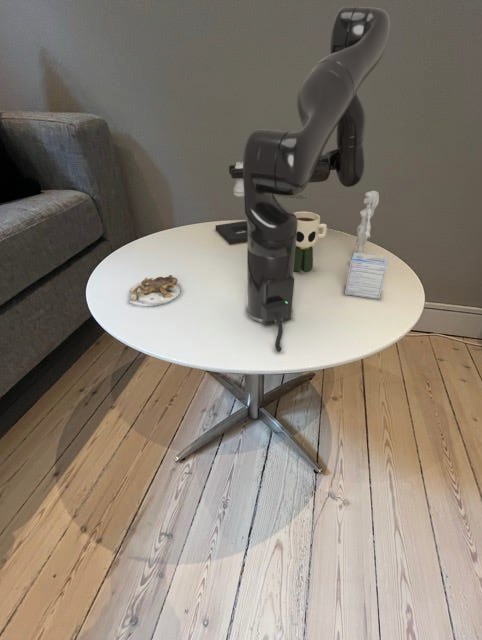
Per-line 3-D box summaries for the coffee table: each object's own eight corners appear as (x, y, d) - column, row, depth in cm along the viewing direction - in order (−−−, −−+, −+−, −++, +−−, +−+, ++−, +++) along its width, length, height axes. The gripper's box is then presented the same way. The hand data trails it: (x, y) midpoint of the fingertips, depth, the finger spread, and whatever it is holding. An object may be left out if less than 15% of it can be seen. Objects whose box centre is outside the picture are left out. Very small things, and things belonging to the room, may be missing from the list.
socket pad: (268, 238, 114) (268, 233, 113) (230, 244, 110) (230, 239, 109) (251, 224, 122) (251, 219, 121) (215, 230, 118) (215, 225, 117)
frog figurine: (180, 279, 94) (178, 264, 91) (181, 304, 85) (179, 288, 82) (132, 282, 92) (128, 267, 90) (127, 308, 84) (123, 292, 81)
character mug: (280, 275, 97) (284, 221, 88) (277, 262, 102) (280, 211, 93) (323, 274, 97) (331, 221, 88) (318, 262, 102) (325, 211, 94)
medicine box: (379, 291, 91) (388, 255, 85) (379, 300, 88) (388, 264, 82) (346, 286, 93) (352, 251, 87) (344, 295, 89) (351, 259, 84)
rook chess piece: (242, 198, 106) (242, 166, 101) (230, 195, 108) (229, 163, 103) (252, 194, 109) (252, 162, 104) (239, 191, 111) (239, 160, 106)
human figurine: (348, 254, 106) (362, 183, 94) (362, 255, 106) (377, 184, 94) (351, 274, 97) (366, 198, 85) (366, 275, 97) (383, 199, 85)
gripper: (286, 148, 109) (226, 150, 107) (300, 159, 99) (233, 162, 97) (285, 177, 114) (227, 179, 112) (297, 191, 104) (234, 194, 102)
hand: (230, 171), depth 104 cm, fingers closed on rook chess piece, 3 cm apart
